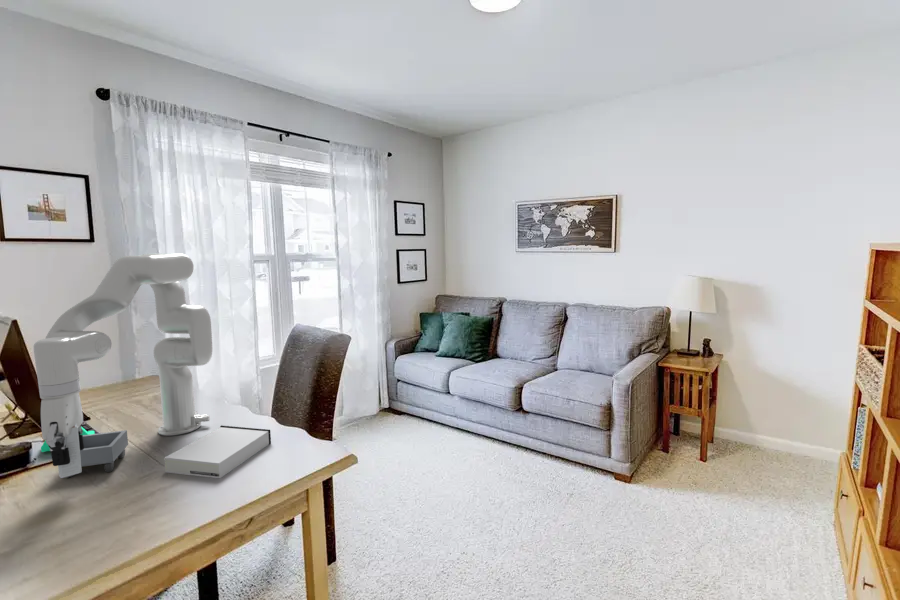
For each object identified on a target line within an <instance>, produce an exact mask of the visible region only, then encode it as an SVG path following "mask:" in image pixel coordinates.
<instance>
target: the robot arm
mask: <svg viewBox="0 0 900 600" xmlns="http://www.w3.org/2000/svg"><path fill="white" fill-rule="evenodd" d="M193 273H194V263H193V260H192V259H191V257H190V256H188V255H186V254H184V253H144V254H140V255H124V256H120V257H119V258H117V259H116V260H114V262H113V264H111V267H110V268H109V270H108V271H107V273H106V274H105V276H104V278H103V279H102V280H101V282H100V283H99V285H98V286H97V287H96V289H95V291H94V292H93V293H92V295H90V296H88V297H86V298H85V299H83V300H81V301H79V302H78V303H76V304H75V305H73V306H72V307H70V308H69V309H67V310H66V311H64V312H63V313H62V314H61V315H60V316H59V317H58V318H57V320H56V321H55V322H54V324H53V325H52V326H51V328H50V329H49V331H48V333H47V334H46V336H45V338H43V339H40V340H37V341H35V343H34V345H33V354H34V362H35V370H36V377H37V384H38V392H39V398H40V399H41V402H40V424H41V436H42V439H43V440H44V441H45V440H46V443H47V444H48V446H49V448H50V451H49V452H50V453H51V455H50V456H51V460H52V466H53V467H58V466H59V465H66V464H69V463H70V456H69V448H66V444H67V436H69V435H70V434H71V431H72V427H73V426H75V425H76V424H77V427H78V435H79V446H80V450H83V449H84V443H83V435H82V433H83V430H82V428H81V426H82V425H83V423H84V413H83V406H82V402H81V401H82V400H81V397H80V392H81V390H82V387H81V381H80V373H79V372H80V371H79V366H78V365H79V363H84V362H90V361H96V360H100V359H102V358H104V357H105V356H107V355H108V353H109V352H110V351H111V348H112V340H111V338H110V337H109V335H107V334H106V333H104V332H103V331H102V332H101V331H98V330H85V329H86V328H88V327H90V326H91V325H92V324H94V323H96V322H99V321H102V320H104V319H106V318H109V317H110V318H111V317H112V316H116V315H117V314H121V313H122V312H124V311H126V310H127V309H128V307H129V306H130V305H131V302H132V301H133V299H134V298H135V296H136V294H137V293H138V290H139V289H140V288H141V286H144V285H149V286H150V287H151V289H152V291H153V294H154V298H155V299H154V300H155V301H154V302H155V313H156V314H155V315H156V325H157V327H158V330H159V331H160V332H162V333H163V334H164V333H165V334H173V335H174V334H176V335H177V334H179V335H180V334H182V335H185V334H186V335H187V334H188V335H189V336H188V337H187V336H185V337H184V336H183V337H182V336H179V337H178V336H177V337H176V336H175V337H174V336H172V337H171V336H170V337H165V338H162V339H160V340H159V341H158V342H157V343H156V344H155V345H154V348H153V358H154V361H155V364H156V366H157V371H158V378H159V387H160V388H159V391H160V399H161V401H160V403H161V413H162V425H160V426H159V427H158V429H157V430H158V431H157V432H158V434H159V435H161V436H170V437H171V436H179V435H185V434H187V433H191V432H193V431H195V430H198V429H199V428H200V427H201V425H202V422H203V423H204V422H210V420H211V418H210V415H208V414H206V413H205V414H201V415H200V414H198V410H197V411H196V406H195V405H196V403H195V394H194V393H195V391H194V377H193V373H192V372H191V369H190V368H189V367H199V366H200V367H201V366H206V365H207V364H209V362H210V361H211V360H212V357H213V356H212V355H213V337H212V336H213V335H212V333H213V332H212V321H211V316H210V315H211V314H210V313H209V311H208V310H207V308H206V307H204V306H202V305H198V304H195V305H194V304H188V305H187V302H186V301H187V300H186V294H185V288H184V286H183V284H182V281H185V280H187V279H189V278H190V277H191V276H192V274H193ZM82 427H83V426H82ZM58 431H59V432H60V433H63V435H62V436H56V435H57V432H58ZM80 434H81V435H80ZM57 439H62V444H61V443H60V442H59V441H57Z"/></svg>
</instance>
